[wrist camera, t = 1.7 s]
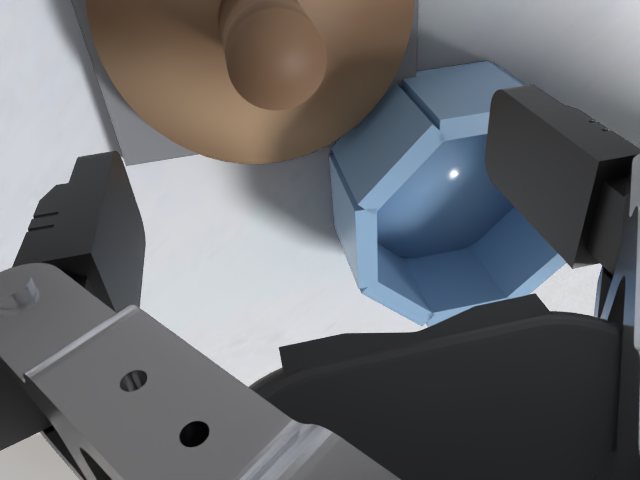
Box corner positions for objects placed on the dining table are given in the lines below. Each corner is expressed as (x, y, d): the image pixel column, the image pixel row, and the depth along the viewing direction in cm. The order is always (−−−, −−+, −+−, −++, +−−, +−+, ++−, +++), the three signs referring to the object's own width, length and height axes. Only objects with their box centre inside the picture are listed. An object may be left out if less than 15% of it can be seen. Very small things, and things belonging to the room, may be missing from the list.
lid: (33, -168, 17) (-27, -171, 12) (409, -202, 18) (489, -217, 13) (141, 173, 24) (130, 256, 19) (403, 130, 25) (454, 197, 20)
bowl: (323, 85, 24) (351, 134, 20) (557, 50, 25) (627, 89, 21) (337, 275, 30) (360, 340, 26) (522, 240, 32) (570, 297, 28)
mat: (27, -146, 17) (22, -146, 17) (417, -183, 19) (423, -184, 18) (127, 159, 24) (126, 165, 24) (410, 114, 25) (414, 119, 25)
